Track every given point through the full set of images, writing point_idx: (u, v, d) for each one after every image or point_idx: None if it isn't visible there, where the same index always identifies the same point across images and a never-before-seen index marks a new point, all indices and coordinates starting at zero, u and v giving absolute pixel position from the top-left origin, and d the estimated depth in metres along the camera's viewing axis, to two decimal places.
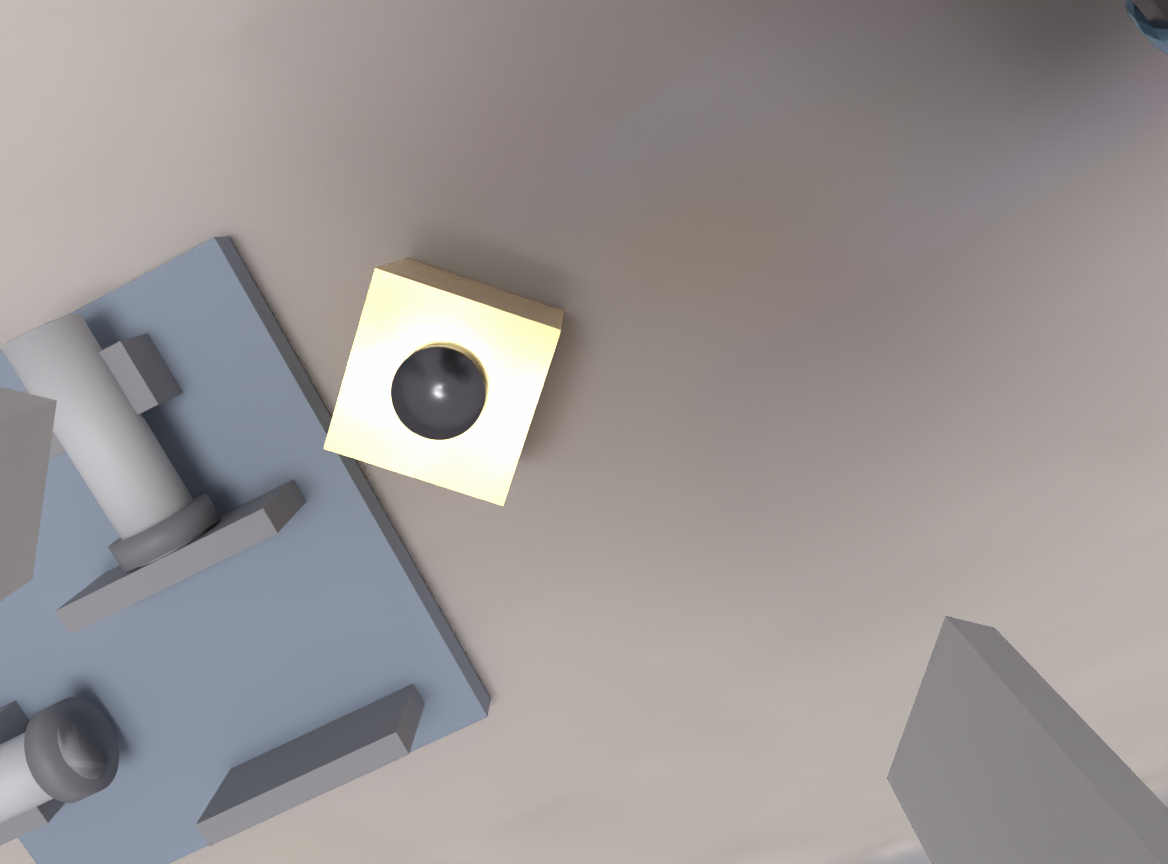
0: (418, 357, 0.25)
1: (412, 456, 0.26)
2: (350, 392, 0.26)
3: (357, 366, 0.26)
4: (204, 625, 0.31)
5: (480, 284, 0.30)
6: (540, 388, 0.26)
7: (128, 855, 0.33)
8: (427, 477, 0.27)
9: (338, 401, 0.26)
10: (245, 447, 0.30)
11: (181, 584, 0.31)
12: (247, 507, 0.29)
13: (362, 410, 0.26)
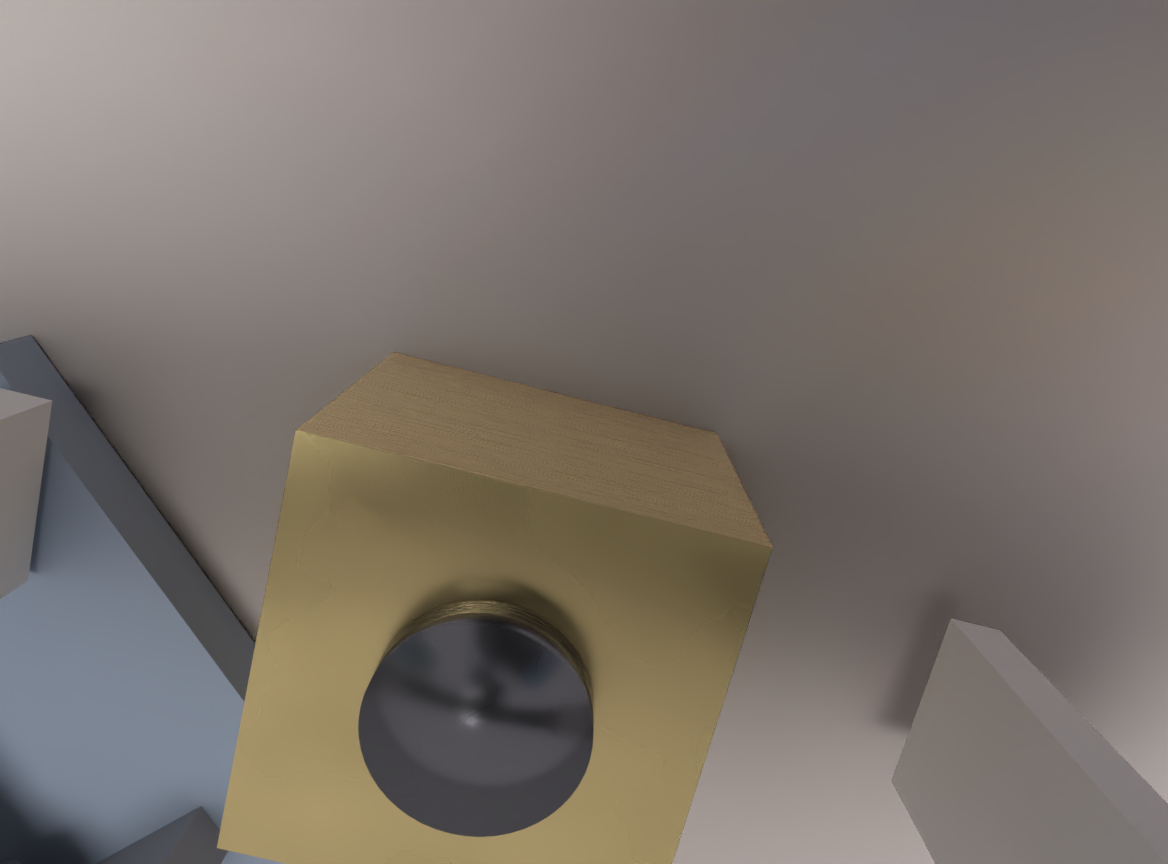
0: (421, 651, 0.10)
1: (428, 853, 0.11)
2: (266, 722, 0.11)
3: (276, 663, 0.11)
4: None
5: (545, 398, 0.14)
6: (724, 684, 0.11)
7: None
8: None
9: (239, 745, 0.11)
10: (99, 753, 0.15)
11: None
12: None
13: (299, 761, 0.11)
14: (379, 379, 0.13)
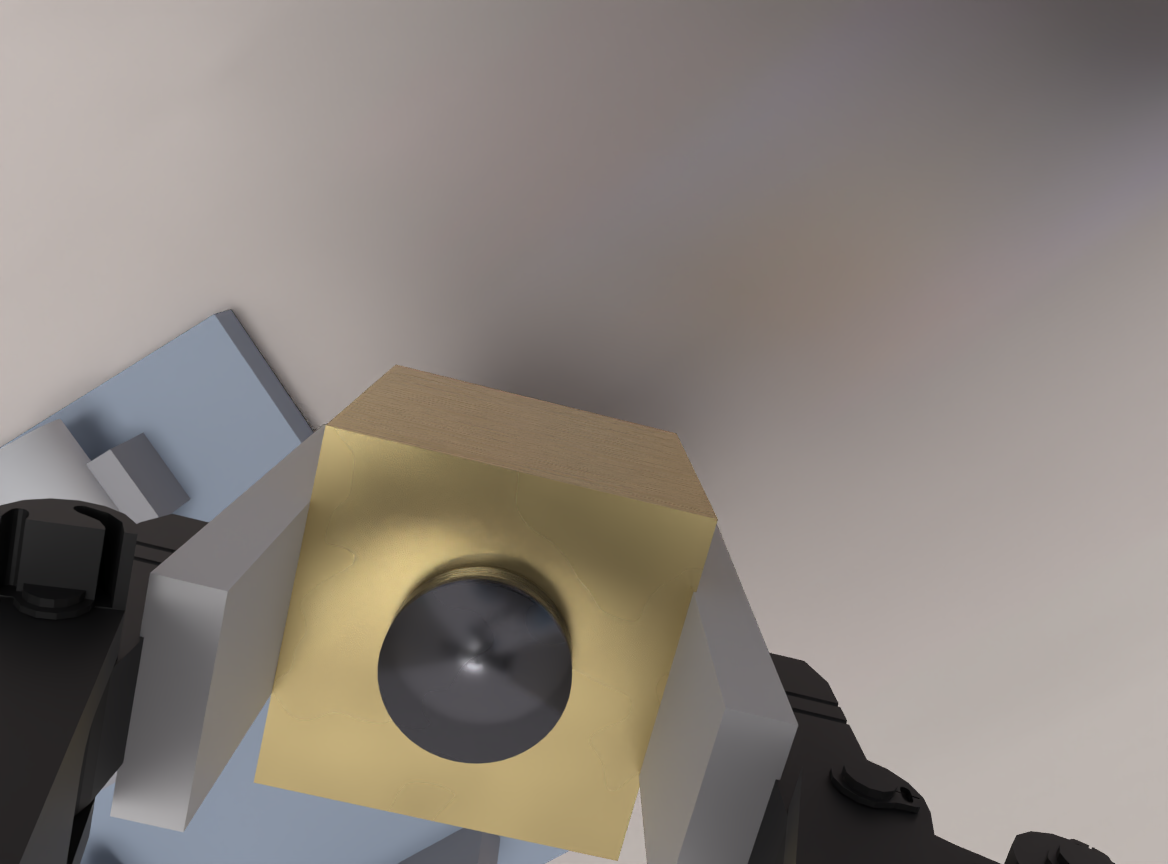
0: (429, 605, 0.12)
1: (433, 784, 0.13)
2: (297, 673, 0.13)
3: (307, 621, 0.13)
4: (235, 766, 0.27)
5: (528, 404, 0.17)
6: (680, 635, 0.13)
7: None
8: (464, 819, 0.13)
9: (274, 692, 0.13)
10: None
11: None
12: None
13: (324, 706, 0.13)
14: (386, 387, 0.15)
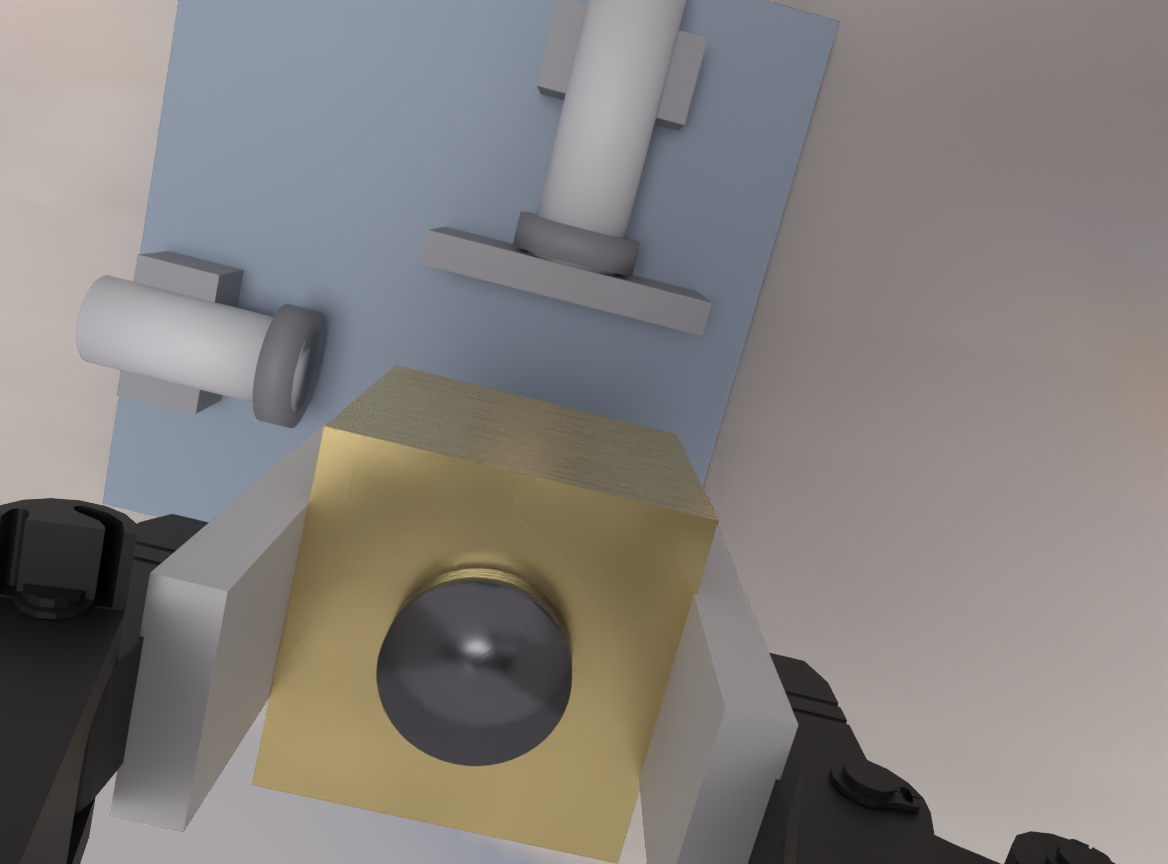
0: (429, 607, 0.12)
1: (432, 786, 0.13)
2: (296, 675, 0.13)
3: (305, 623, 0.13)
4: (490, 351, 0.27)
5: (528, 404, 0.16)
6: (680, 637, 0.13)
7: (211, 499, 0.27)
8: (464, 822, 0.13)
9: (273, 694, 0.13)
10: (684, 227, 0.26)
11: (507, 297, 0.26)
12: (658, 284, 0.25)
13: (323, 708, 0.13)
14: (385, 387, 0.15)
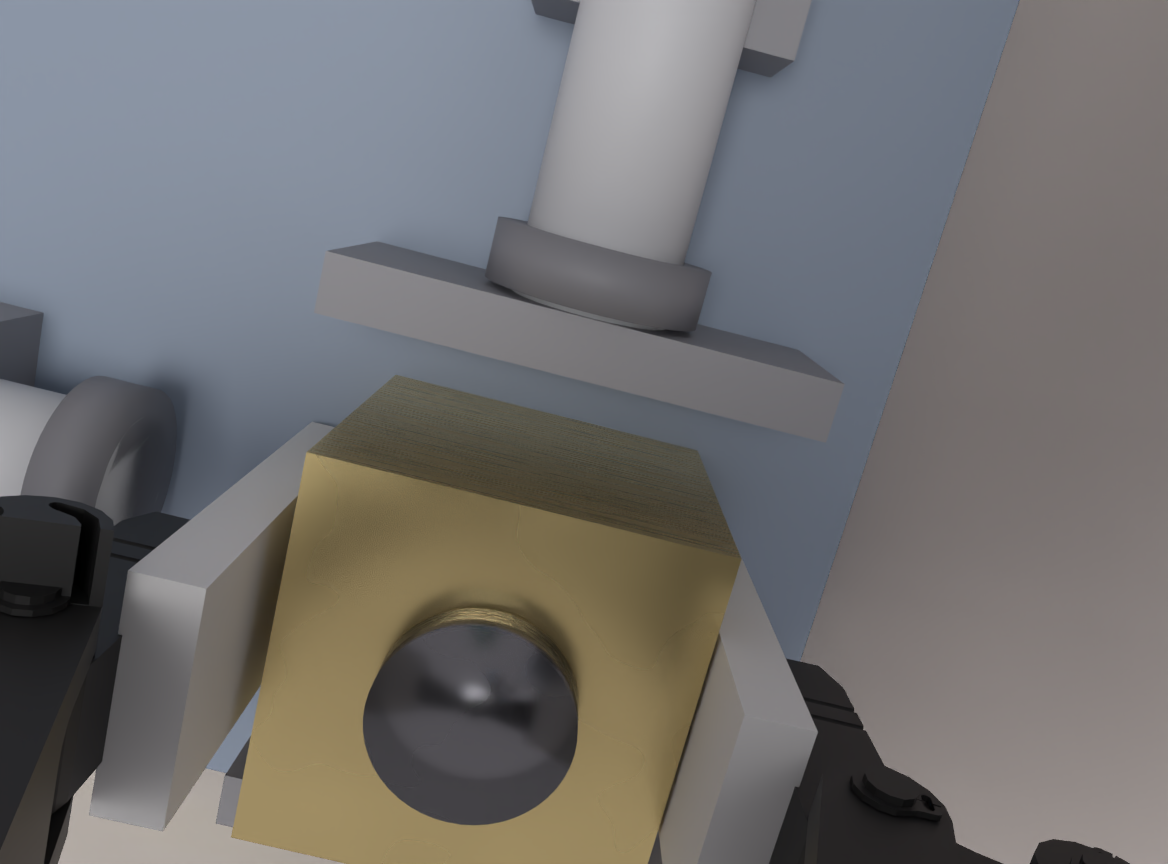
0: (420, 654, 0.11)
1: (426, 842, 0.12)
2: (277, 720, 0.12)
3: (287, 665, 0.12)
4: None
5: (537, 418, 0.15)
6: (698, 685, 0.12)
7: None
8: None
9: (253, 741, 0.12)
10: (778, 242, 0.15)
11: (480, 359, 0.16)
12: (738, 342, 0.14)
13: (308, 756, 0.12)
14: (381, 402, 0.14)
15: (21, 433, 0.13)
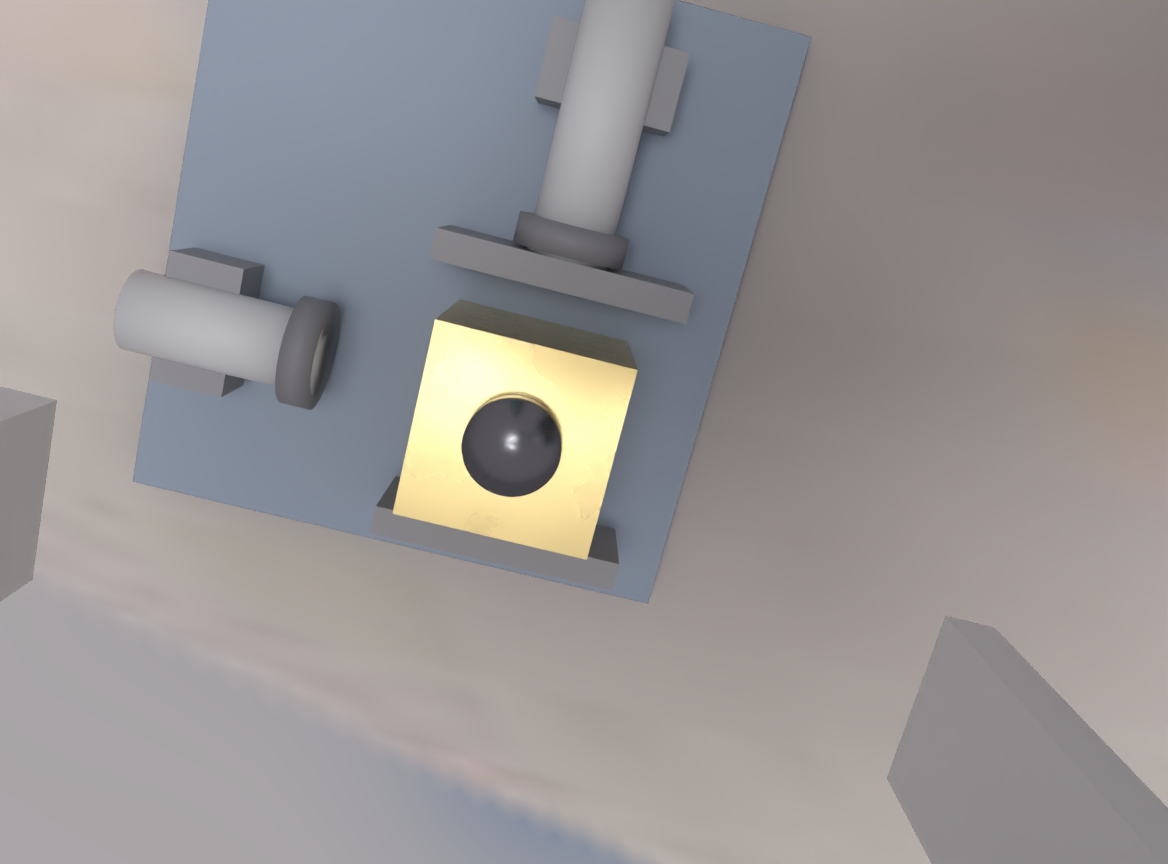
0: (488, 411, 0.24)
1: (488, 515, 0.25)
2: (417, 452, 0.24)
3: (423, 424, 0.24)
4: None
5: (538, 321, 0.28)
6: (618, 433, 0.24)
7: (233, 477, 0.30)
8: (504, 535, 0.25)
9: (405, 462, 0.24)
10: (669, 225, 0.28)
11: (507, 290, 0.28)
12: (646, 277, 0.27)
13: (431, 470, 0.24)
14: (458, 308, 0.27)
15: (274, 322, 0.26)
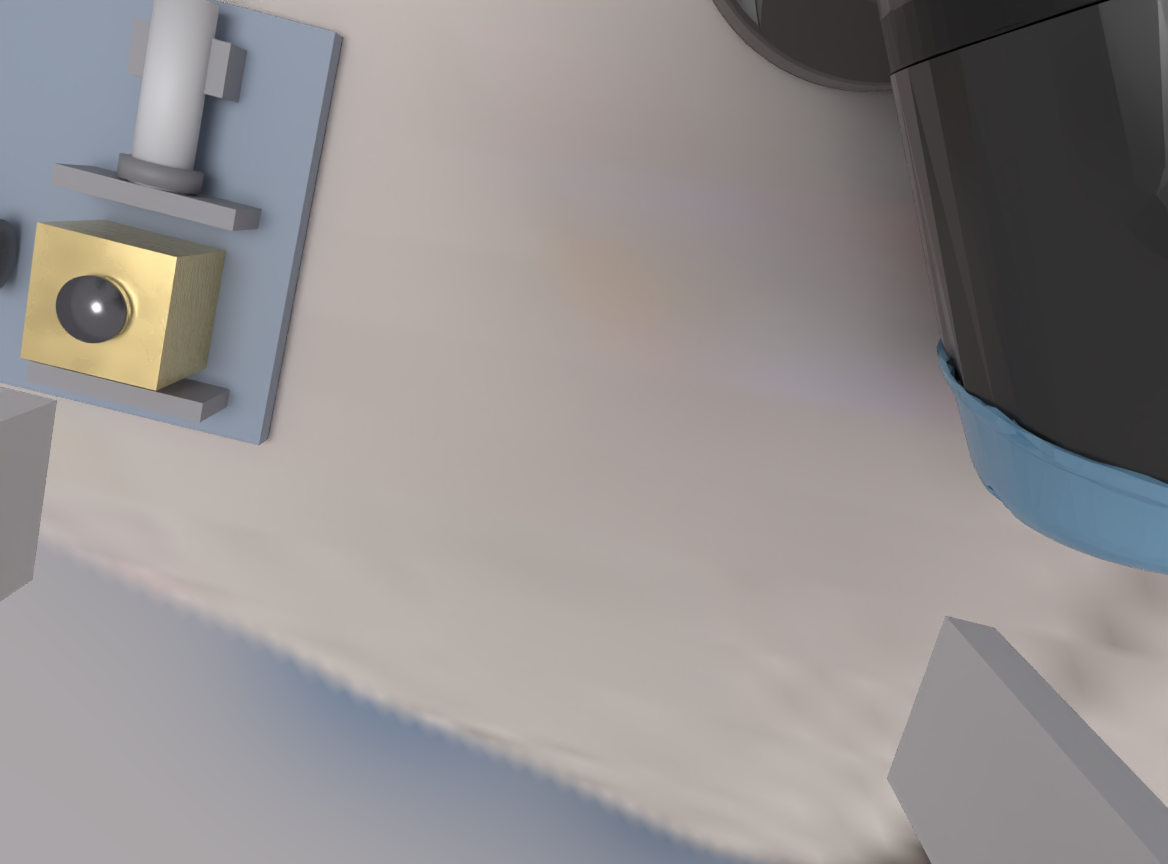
0: (71, 283, 0.35)
1: (85, 358, 0.36)
2: (33, 314, 0.36)
3: (35, 295, 0.36)
4: None
5: (155, 234, 0.40)
6: (169, 301, 0.36)
7: None
8: (98, 373, 0.36)
9: (25, 321, 0.36)
10: (248, 166, 0.40)
11: (136, 213, 0.40)
12: (222, 201, 0.39)
13: (44, 327, 0.36)
14: (84, 221, 0.38)
15: None
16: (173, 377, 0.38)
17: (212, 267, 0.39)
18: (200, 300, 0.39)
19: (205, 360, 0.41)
